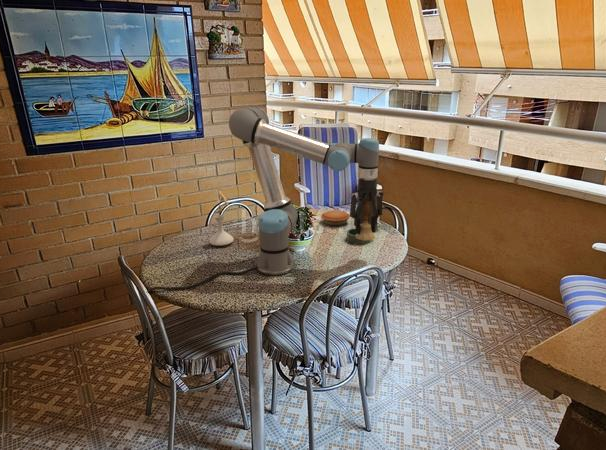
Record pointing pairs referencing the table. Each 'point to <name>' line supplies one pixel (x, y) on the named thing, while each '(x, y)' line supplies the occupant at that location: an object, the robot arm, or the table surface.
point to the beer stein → (368, 214)
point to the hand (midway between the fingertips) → (365, 232)
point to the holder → (352, 239)
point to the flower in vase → (221, 228)
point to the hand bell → (365, 226)
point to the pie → (335, 217)
